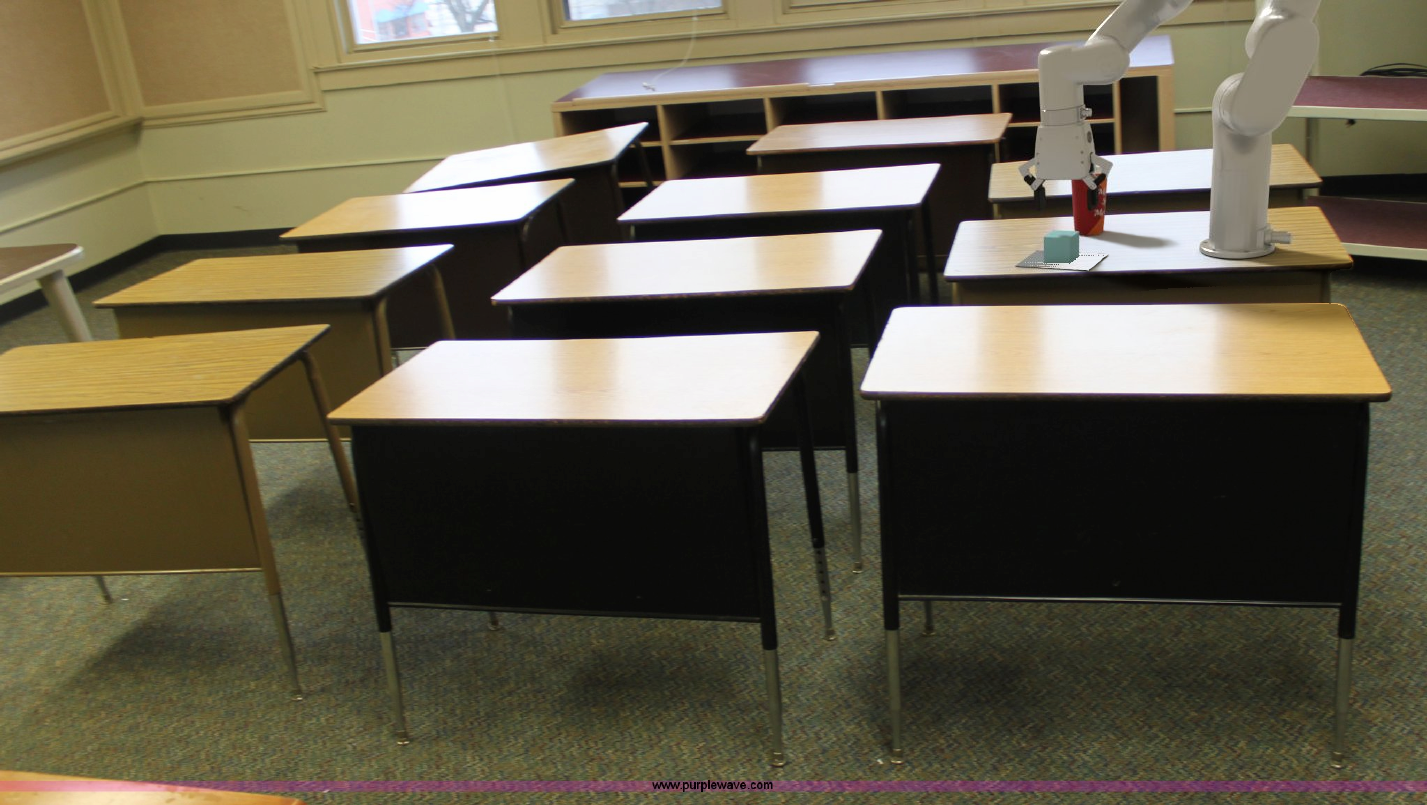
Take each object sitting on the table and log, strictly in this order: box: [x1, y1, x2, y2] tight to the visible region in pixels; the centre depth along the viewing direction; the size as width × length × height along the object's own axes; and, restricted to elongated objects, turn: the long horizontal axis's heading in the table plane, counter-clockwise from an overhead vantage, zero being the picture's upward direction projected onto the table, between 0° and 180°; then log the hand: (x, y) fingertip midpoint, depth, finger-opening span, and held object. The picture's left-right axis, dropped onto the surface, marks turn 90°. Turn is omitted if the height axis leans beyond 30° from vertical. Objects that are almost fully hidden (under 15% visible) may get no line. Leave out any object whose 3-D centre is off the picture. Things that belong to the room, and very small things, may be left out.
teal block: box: [1043, 229, 1080, 264], centre depth 214 cm, size 5×5×5 cm
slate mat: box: [1015, 249, 1104, 268], centre depth 215 cm, size 14×11×1 cm
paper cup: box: [1070, 165, 1108, 237], centre depth 229 cm, size 8×8×14 cm
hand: (1066, 209), depth 211 cm, fingers open, 9 cm apart
